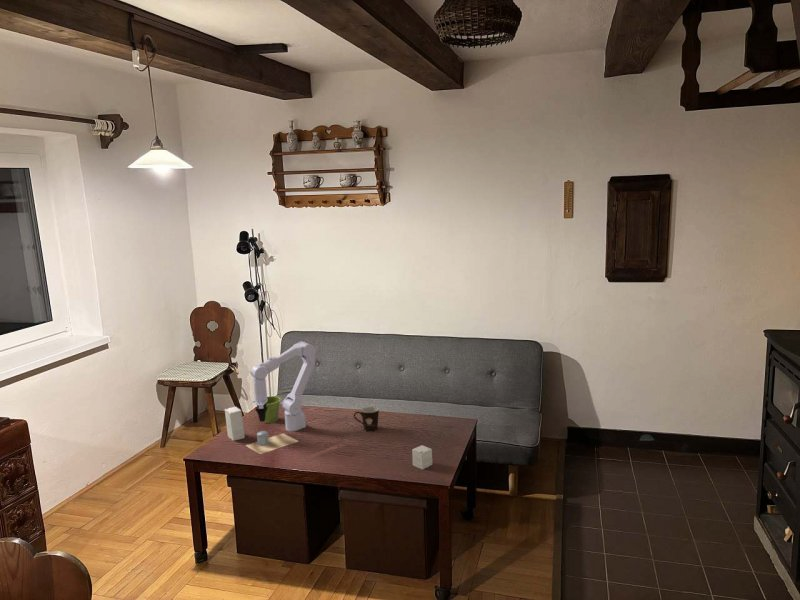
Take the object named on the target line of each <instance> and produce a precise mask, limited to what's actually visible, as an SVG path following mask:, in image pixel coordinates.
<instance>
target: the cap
mask: <svg viewBox="0 0 800 600" xmlns="http://www.w3.org/2000/svg"><path fill="white" fill-rule="evenodd" d="M269 438H270V437H269V432H268V431H266V430H263V431H262V430H261V431H258V432H256V440H257V441H256V442H257V444H258V445H260V446H263V445H267V444H269Z"/></svg>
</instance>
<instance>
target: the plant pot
mask: <svg viewBox="0 0 800 600" xmlns="http://www.w3.org/2000/svg"><path fill="white" fill-rule="evenodd" d="M267 399H268V402H267V404H266V407H268V408H267V411H266V415H265V421H263V423H265V424H266V423H267V424H274V423H276V422H278V420H279V410H280V405H281V404H280V403H281V400H282V399H281V397H279V396H276V395H275V396H272V395H271V396H267Z"/></svg>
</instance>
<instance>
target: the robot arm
mask: <svg viewBox="0 0 800 600" xmlns="http://www.w3.org/2000/svg"><path fill="white" fill-rule="evenodd" d="M316 353H317V350H316V348H315V346H314V345H313V344H310V343H307V342H306V341H304V340H301V341H298V342H297V343H294V344H293V345H292V346H291V347H290V348H288V349H286V350H285V351H284V352H283V353H280V354H279V355H278V356H276V357H275V356H272V357H270V356H269V357H268V358H267V360H266V361H263V362H260V363H259V365H258V364H257V365H253V367H252V368H251V371H250V374H251V376H252V379H253V382H252V383H253V393H254V399H252V403H253V404H254V403H255V405H256V407H254V409H255V411H256V414H257V415H258V419H259V420H258V421H259V422H260V423H261V422H264V421H265V415H266V411H267V408H268V407H266V404H267V402H268V399H267V397H268V392H267V391H268V390H267V381H266V379H267V376H268V375H269V374H271V372H274V371H275V370H276V369H278V368H280V366H281V364H282V363H283V362H285V361H287V360H289V359H292V358H293V357H294V356H297V357H301V360H302V361H303V364H302V366H301V368H300V369H299V372H298V375H297V378H296V380H295V382H294V385H293V387H292V389H291V392H289V393H288V394H287V395H286V397H285V398H284V399H283V401H282V402H281V407H282V409H283V410H284V425H285V430H286V431H288V432H296V431H299V430H302V429H304V428H306V427H307V422H306V414H305V412H304V411H303V410H302V403H303V397H302V396H303V394H304V392H305V389H306V387H307V385H308V382H309V380H310V378H311V374H312V372H313V370H314V367H315V365H316V360H317V359H316Z"/></svg>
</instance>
